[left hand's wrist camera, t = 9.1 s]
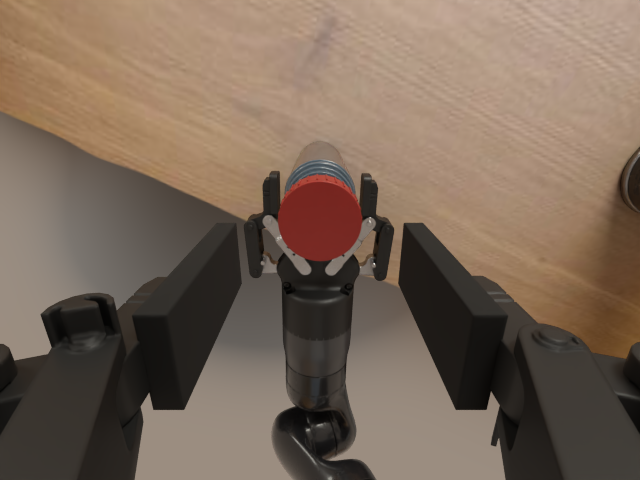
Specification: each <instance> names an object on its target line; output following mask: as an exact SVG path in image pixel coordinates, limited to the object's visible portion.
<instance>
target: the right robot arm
mask: <svg viewBox="0 0 640 480" xmlns="http://www.w3.org/2000/svg"><path fill="white" fill-rule="evenodd" d="M377 193H378V187H377V184H376V182H375V181H374V180H372V178H371V175H370V174H368V173H362V175H361V188H360V203H359V205H360V208H361V210H360V211H361V215H362V227H361V232H360V234H359V237H358V239H357V241H356V242H355V244H354V245H353V246H352V247H351V249H350V250H348V251H347V252H346V253H345V254H343V255H341V256H340V257H337V258H335V259H332V260H327V261H313V260H308V259H305V258H303V257H300V256H299V255H297V254H295V253H294V252H293V251H292V250H290V249H289V248H288V246H287V245H286V244H285V242H284V241H283V239H282V237H281V235H280V231H279V227H278V216H279V215H278V212H279V210H280V172H279V171H271V173H270V177H267V178H266V179H265V180H264V183H263V207H264V211H263V212H262V213H259V214H253V215H251V216H250V217H249V219H248V221H247V222H246V223H245V225H244V232H245V240H246V248H247V256H248V264H249V272H250V275H251V276H252V277H253V278H259V277H260V276H261V274H262V273H278V275H279V276H280V278H281V281H282V312H283V343H284V349H285V355H286V388H287V393H288V396H289V398H290V400H291V401H292V403H293V404H294V405H295V407H292V408H289V409H287V410H284V411H283V412H281V413H280V414H279V415H278V416H277V417H276V419H275V421H274V423H273V427H272V435H271V436H272V444H273V448H274V451H275V454H276V456H277V458H278V460H279V461H280V463H281V464H282V466H283V467H284V469H285V470H286V472H287V473H288V474H289V475H290V477H291V478H292V479H293V480H376V478H375V477H374V475H373V474H372V472H371V470H370V469H369V468H368V466H367V465H366V464H365V463H364V462H362V461H360V460H357V459H347V460H338V461H329V460H330V459H332V458H334V457H337V456H339V455H341V454H343V453H345V452H346V451H347V450H348V449H349V448H350V447H351V446H352V444H353V442H354V440H355V437H356V425H355V420H354V417H353V414H352V411H351V408H350V404H349V400H348V395H347V390H346V384H345V378H346V360H347V354H348V350H349V345H350V336H351V321H352V305H353V290H354V282H355V280H356V278H357V276H358V275H371V276H374V277H375V279H376V280H378V281H382V280H384V279H385V278H386V275H387V270H388V264H389V258H390V252H391V246H392V240H393V235H394V228H393V226H392V225H391V223H390V221H389V220H388V219H387V218H385V217H380V216H378V215H376V205H377ZM621 194H622V197H623V200H624V201H625V203H626V204H627V205H628V206H629V207H630V208H631V209H632V210H634V211H636V212H638V213H640V148H639V149H638V150H637V151H636V152H635V153H634V154H633V155H632V157H631V158H630V159H629V161H628V163H627V164H626V167H625V169H624V171H623V174H622V178H621ZM263 228H267V229H268V231H269V232H270V233H271V234H272V235H273V237H274V238H275V240H276V242H277V244H278V245H279V247H280V248H281V249H282V250H283V251H284V253H283V254H282V256H281V257H280V258H279V260H278V261H274V260H273V259H272V258H271V255H270V253H268V252H266V251H264V245H263V236H262V229H263ZM372 230H374V231H376V236H375V243H374V249H373V254H369V255H367V257H366V259H365V261H364V262H362V263H359V262H358V260H357V259H356V257H355V256H354V254H353V253H354V252H355V251H356V250H357V249H358V248H359V247H360V245H361V244H362V241H363V240H364V238H365V237H366V236H367V235H368V234H369V233H370V232H371V231H372Z"/></svg>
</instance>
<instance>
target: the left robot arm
mask: <svg viewBox="0 0 640 480" xmlns="http://www.w3.org/2000/svg"><path fill="white" fill-rule="evenodd" d="M241 284H242V282H241V271H240V260H239V250H238V239H237V228H236V223H217V224H216V225H215V226H214V227H213V228H212V229H211V230H210V231H209V232H208V233H207V235H206V236H205V237H204V238H203V239H202V240H201V241H200V242H199V243H198V244H197V245H196V246H195V247H194V249H193V250H192V251H191V252H190V253H189V254H188V255H187V256H186V257H185V258H184V259H183V260H182V261H181V263H180V264H179V265H178V266H177V267H176V268H175V269H174V270H173V271H172V272H171V273H170V274H169V276H168V277H157V278H155V279H153V280H151V281H149V282H147V283H146V284H144V285H143V286H142V287H141V288H139V289H138V290H137V291H136V292H135V293H134V296H131V297H130V298H129V299H128V300H127V301H126V303H124V304H123V305H122V306H121V307H120V308H119V309H118V310H116V306H115V302H114V298H113V297H111V296H110V295H108V294H103V293H90V294H83V295H79V296H74V297H71V298H68V299H65V300H62V301H60V302H58V303H56V304H54V305H52V306H50V307H49V308H47V309H46V310H45V311H44V312H43V313H42V314H41V317H42V320H43V323H44V326H45V329H46V332H47V335H48V338H49V341H50V344H51V347H52V348H51V350H50V352H49V353H48V354H47V355H41V356H37V357H31V358H26V359H21V360H16V361H14V359H13V356H12V354H11V351H10V349H9V347H7V346H6V345H4V344H0V480H134V479H135V473H136V466H137V460H138V453H139V447H140V440H141V433H142V427H143V416H142V411H141V407H140V406H141V405H142V403H143V402H144V400H145V398H146V397H147V395H148V393H150V397H151V401H152V406H153V410H184V409H185V407H186V405H187V402H188V400H189V398H190V396H191V394H192V391H193V389H194V387H195V385H196V383H197V380H198V378H199V376H200V374H201V372H202V370H203V367H204V365H205V363H206V361H207V359H208V356H209V354H210V352H211V350H212V348H213V345H214V343H215V341H216V339H217V337H218V334H219V332H220V330H221V328H222V326H223V323H224V321H225V319H226V317H227V314H228V312H229V310H230V308H231V306H232V304H233V301H234V299H235V297H236V295H237V293H238V290H239V288H240V286H241ZM398 284H399V286H400V288H401V291H402V293H403V295H404V297H405V299H406V301H407V304H408V306H409V308H410V310H411V312H412V315H413V317H414V319H415V321H416V323H417V326H418V328H419V330H420V332H421V334H422V336H423V339H424V341H425V343H426V345H427V348H428V350H429V352H430V354H431V356H432V359H433V361H434V363H435V365H436V367H437V369H438V372H439V374H440V376H441V378H442V380H443V383H444V385H445V387H446V389H447V391H448V394H449V396H450V398H451V400H452V402H453V405H454V407H455V409H456V410H486V409H487V405H488V401H489V397H490V393H491V392H492V393H493V395H494V396H495V398H496V400H497V401H498V403H499V404H500V407H499V411H498V415H497V419H496V423H495V427H494V431H493V436H492V441H491V445H493V446H496V445H497V441H498V438H499V439H500V446H501V452H502V459H503V465H504V472H505V478H506V480H640V342H637V343H636V344H634V345H632V346H631V349H630V351H629V354H628V356H627V359H623V358H618V357H612V356H607V355H602V354H597V353H592V352H591V351H590V349H589V348H588V346H587V345H586V344H585V343H584V342H583V341H582V340H581V339H580V338H578V337H577V336H575V335H573V334H572V333H570V332H568V331H565V330H563V329H561V328H558V327H555V326H551V325H547V324H539V323H537V322H536V321H535V320H534V319H533V318H532V317H531V316H530V315H529V314H528V313H527V312H526V311H525V310H524V309H523V308H522V307H521V306H520V305H519V304H517V303H516V302H514V300H513V299H512V298H511V297H510V296H509V295H508V294H506V292H505V291H504V290H503V289H502V288H501V287H500V286H499V285H498V284H497V283H495V282H493V281H491V280H489V279H487V278H486V277H484V276H471V274H470V273H469V272H468V271H467V270H466V269H465V268H464V267H463V266H462V265H461V264H460V263H459V261H458V260H457V259H456V258H455V257H454V256H453V255H452V254H451V253H450V252H449V251H448V250H447V249H446V247H445V246H444V245H443V244H442V243H441V242H440V241H439V240H438V239H437V238H436V237H435V236H434V234H433V233H432V232H431V231H430V230H429V229H428V228H427V227H426V226H425V225H424V224H423V223H404V228H403V238H402V249H401V260H400V271H399V282H398Z"/></svg>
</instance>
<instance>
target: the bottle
mask: <svg viewBox="0 0 640 480" xmlns="http://www.w3.org/2000/svg"><path fill="white" fill-rule="evenodd" d="M317 174H318V175H326V174H327V176H331V177H336V179H338V180H340V181H344V183H345V184H346V185H347V186H348V187H350V188H351V190H352V192H353V194H355V187H354V183H353V180H352V178H351V176H350V174H349V172H348V170H347V168H346V166H345V164H344V161H343V159H342V157H341V155H340V153H339V151H338V150H337V149H336V148H335V147H334V146H333V145H331V144H329V143H327V142H322V141H318V142H313V143H311V144H309V145H307V146H306V147H305V148H304V149H303V150H302V151H301V153H300V155H299V157H298V159H297V161H296V164H295V166H294V168H293V170H292V172H291V174H290V176H289V178H288V181H287V183H286V187H285V194H286V192H287V191H289V190H290V188H291V187H292V185H293V184H295V183H297V182H298V181H299V179H301V180H302V179H304V178H306V177H307V176H313V175H317Z"/></svg>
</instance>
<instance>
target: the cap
mask: <svg viewBox="0 0 640 480" xmlns="http://www.w3.org/2000/svg"><path fill="white" fill-rule="evenodd" d="M357 201H358V200H357V198H356V195H355V194H353V192H352V190H351V188H350V187H348V186H347V185H346V184H345V183H344V181H340V180H338V179H336V177H331V176H327V174H326V175H318V174H317V175H313V176H307V177H306V178H304V179H302V180H301V179H299V181H298V182H297V183H295V184H293V185H292V187H291V188H290V190H289V191H287V192H286V194H285V197H284V199H283V200H282V202H281V204H280V206H281V208H280V210H279V213H278V215H279V216H278V227H279V231H280V235H281V237H282V239H283V241H284V242H285V244H286V245H287V246H288V248H289V249H290V250H292V251H293V252H294V253H295V254H297V255H299V256H300V257H303V258H305V259H308V260H313V261H327V260H332V259H335V258H337V257H340V256H341V255H343V254H345V253H346V252H347V251H348V250H350V249H351V247H352V246H353V245H354V244H355V242H356V241H357V239H358V237H359V234H360V232H361V227H362V215H361V211H360V210H361V208H360V205H359V203H358V202H357Z"/></svg>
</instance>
